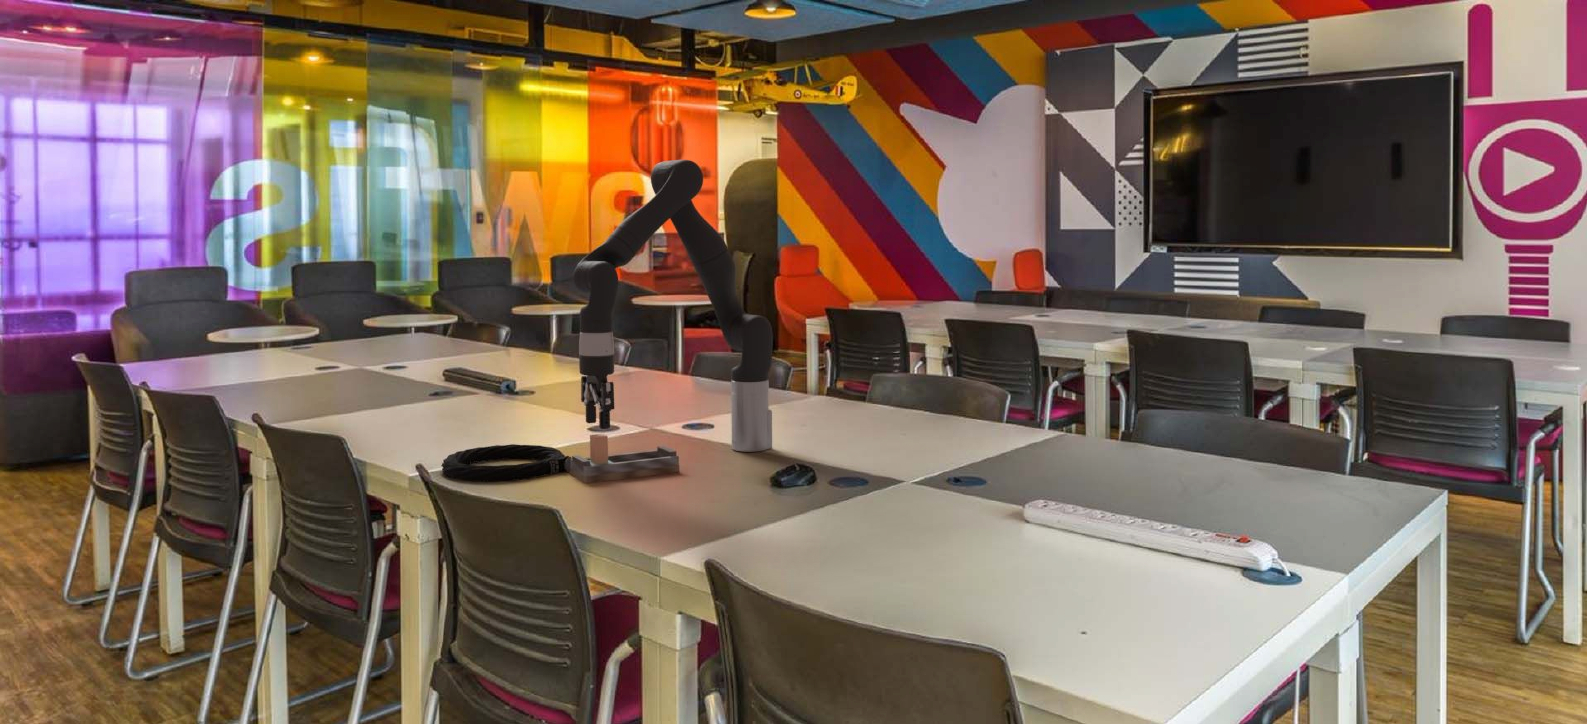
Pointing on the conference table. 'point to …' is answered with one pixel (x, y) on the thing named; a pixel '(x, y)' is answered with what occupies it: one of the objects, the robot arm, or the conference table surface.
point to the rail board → (626, 465)
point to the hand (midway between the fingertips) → (597, 425)
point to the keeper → (599, 449)
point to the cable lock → (549, 464)
